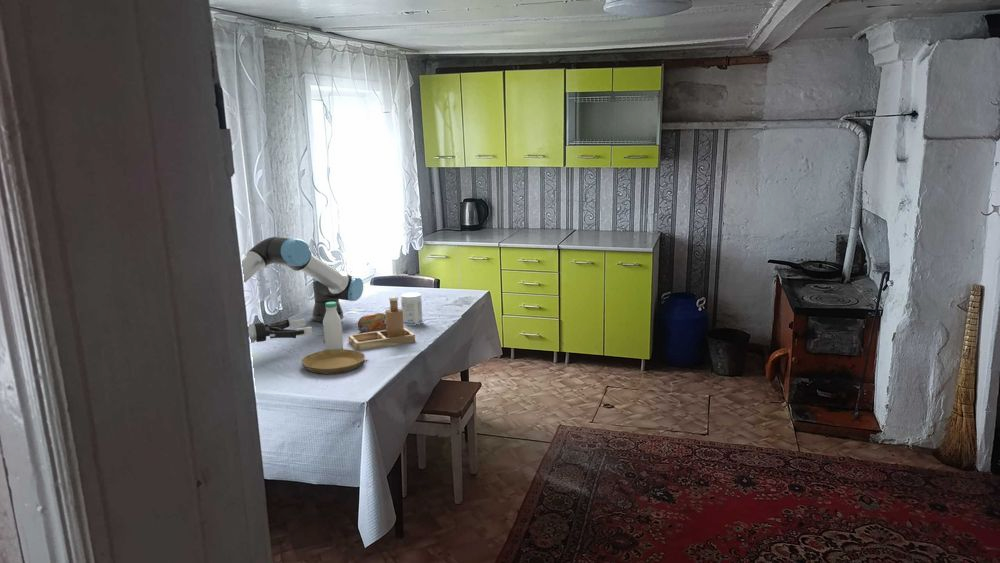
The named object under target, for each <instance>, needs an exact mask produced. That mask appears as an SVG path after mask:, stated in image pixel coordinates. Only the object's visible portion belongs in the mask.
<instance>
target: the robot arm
mask: <svg viewBox="0 0 1000 563" xmlns="http://www.w3.org/2000/svg"><path fill="white" fill-rule="evenodd" d="M241 261H242V267H243V274H244V282H245V284H246V283H247V282H248V281H249V280H250V279H251V278H252V277H254V275H256V273H258V271H259V270H264V269H265V268H266V267H267V266H269V265H271V264H276V265H283V266H286V267H288V268H289V269H291V270H293V271H295V272H299V271H301V272H303V273H305V274H306V275H308V276H309V277H311V278H313V279H312V280H313V282H312V286H313V298H314V305H313V310H312V312H311V319H312V320H313V321H316V322H323V319H324V316H325V313H326V307H325V303H327V302H336V304H337V308H336V310H337V313H338V315H339V316H340V319H341V320H342V319H343V318H344V311H343V309H342V306H341V303H340V300H342V301H343V300H344V301H349V302H356V301H358V300H359V299H360V298H361V297H362V295H363V292H364V282H363V280H362V278H361V277H359V276H352V275H351V274H349V273H347V272H346V271H343V270H339V271H338V270H336V269H335V268H333V267H332V266H330V264H329V265H328V264H327V263H326V262H324V261H323V260H321V259H320V258H318V257H317V256H315V255H313V254H312V251H311V249H310V246H309V244H308V242H306V241H305V240H303V239H300V238H297V237H296V238H295V237H291V238H290V237H280V236H269V237H267V238H265V239H263V240H262V241H259V243H256V244H255V245H254V246H253V247H252V248H250V249H249V250H248V251H247V252H246V256H245V257H244V258H243V259H242V260H241ZM306 325H307V324H306V318H302V319H294V320H290V319H288V318H287V319H284V320H280V321H276V322H275V321H274V322H272V323H268V324H267V323H266V324H265V323H264V322H257V323H254V324H252V323H249V329H250V339H251V343H250V344H253V343H255V342H256V343H262V342H266V341H267V337H269V338H270V339H271V340H272V339H297V336H305V335H312V334H313V327H312V326H308V327H305V326H306ZM298 327H300V328H298ZM286 328H295V329H286Z"/></svg>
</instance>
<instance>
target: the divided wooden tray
mask: <svg viewBox="0 0 1000 563" xmlns="http://www.w3.org/2000/svg"><path fill="white" fill-rule="evenodd" d="M415 342H416V334H415V333H413V332H412V331H410V330H409V329H408V328H406V326H404V336H399V337H392V338H387V336H386V329H383V330H382V329H381V330H374V331H369V332H364V333H362V332H360V333H356V334H355V333H354V334H348V343H349V344H350V345H351V346H352V347H353V348H354V349H355V351H363V350H370V349H376V348H377V349H378V348H382V347H388V346H389V347H390V346H397V345H402V344H408V343H409V344H410V343H415Z"/></svg>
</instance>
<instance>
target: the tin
mask: <svg viewBox="0 0 1000 563" xmlns="http://www.w3.org/2000/svg"><path fill="white" fill-rule="evenodd" d="M357 328H358V329H357V330H358V332H360V333H368V332H374V331H379V330H382V329H383V330H384V329H386V315H385V313H381V312H376V313H372V314H367V315H362V316H361V317H360V318H359V319H358V321H357Z"/></svg>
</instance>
